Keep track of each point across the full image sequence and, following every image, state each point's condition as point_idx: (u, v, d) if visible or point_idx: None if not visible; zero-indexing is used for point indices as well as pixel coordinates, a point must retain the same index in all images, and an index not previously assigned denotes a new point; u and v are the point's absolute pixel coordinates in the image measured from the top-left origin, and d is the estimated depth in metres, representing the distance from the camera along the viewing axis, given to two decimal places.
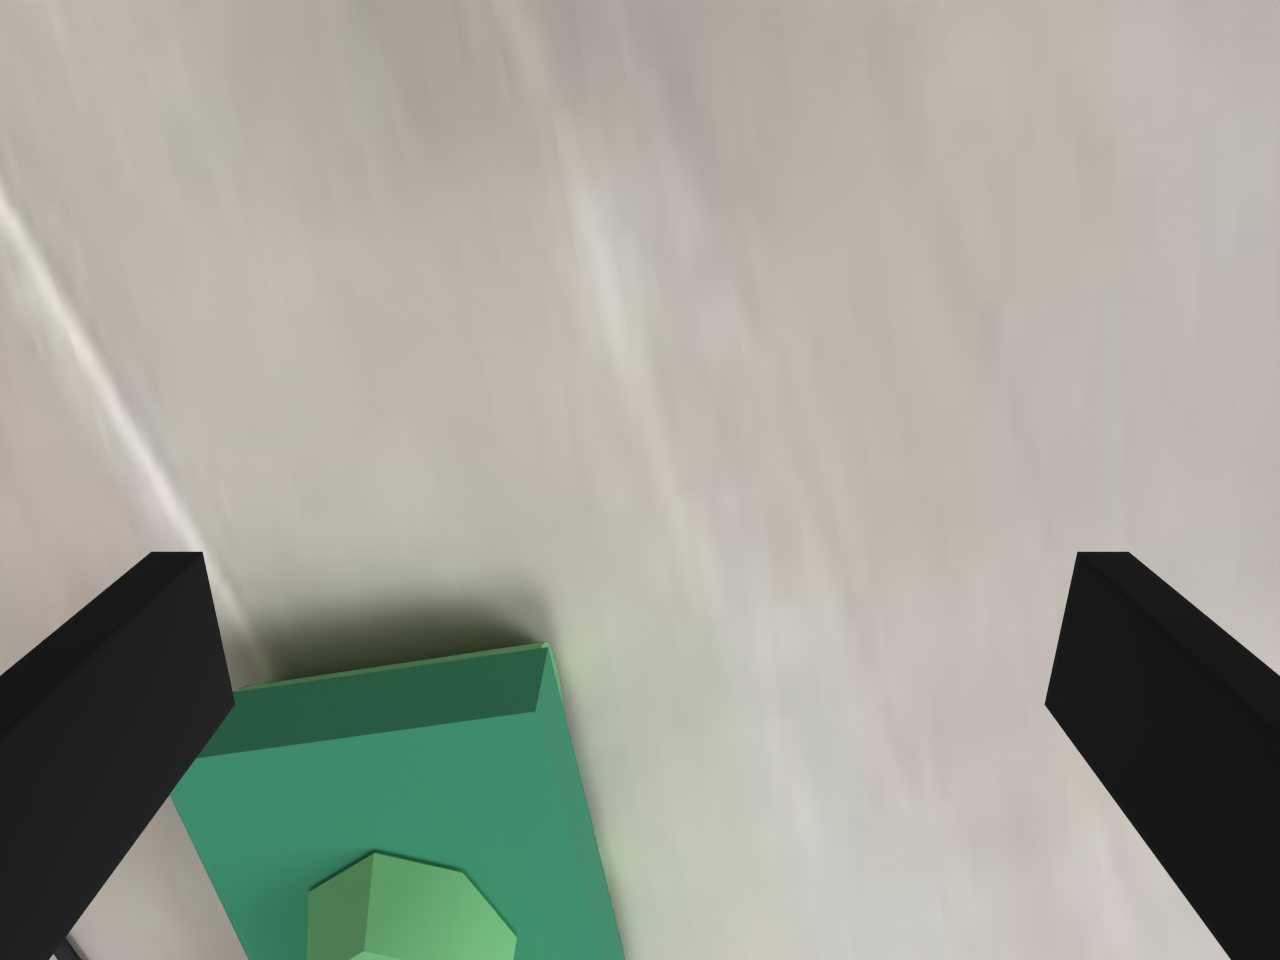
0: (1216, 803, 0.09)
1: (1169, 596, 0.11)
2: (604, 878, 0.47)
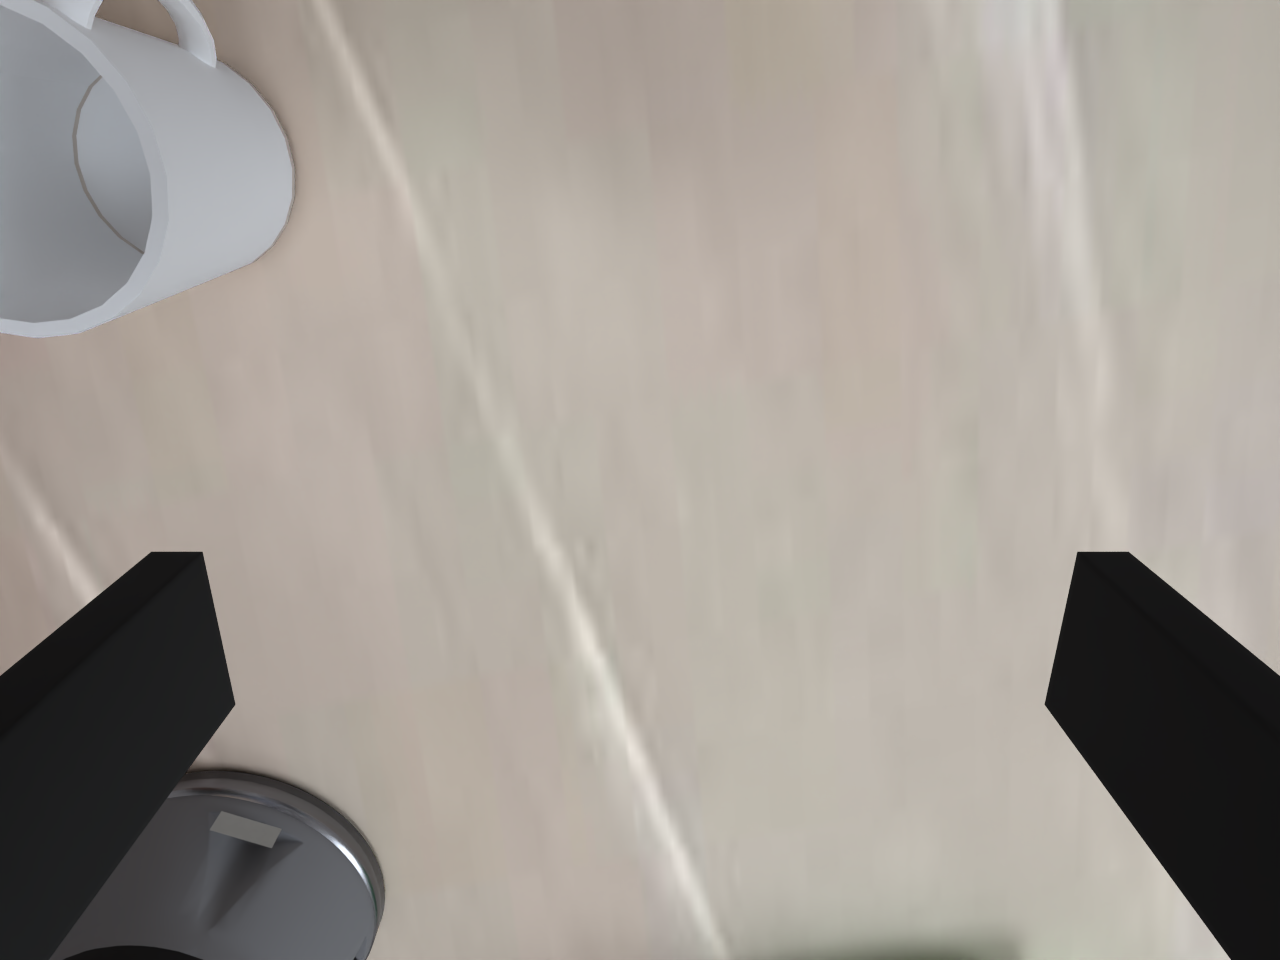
0: (1216, 803, 0.09)
1: (1169, 596, 0.11)
2: None
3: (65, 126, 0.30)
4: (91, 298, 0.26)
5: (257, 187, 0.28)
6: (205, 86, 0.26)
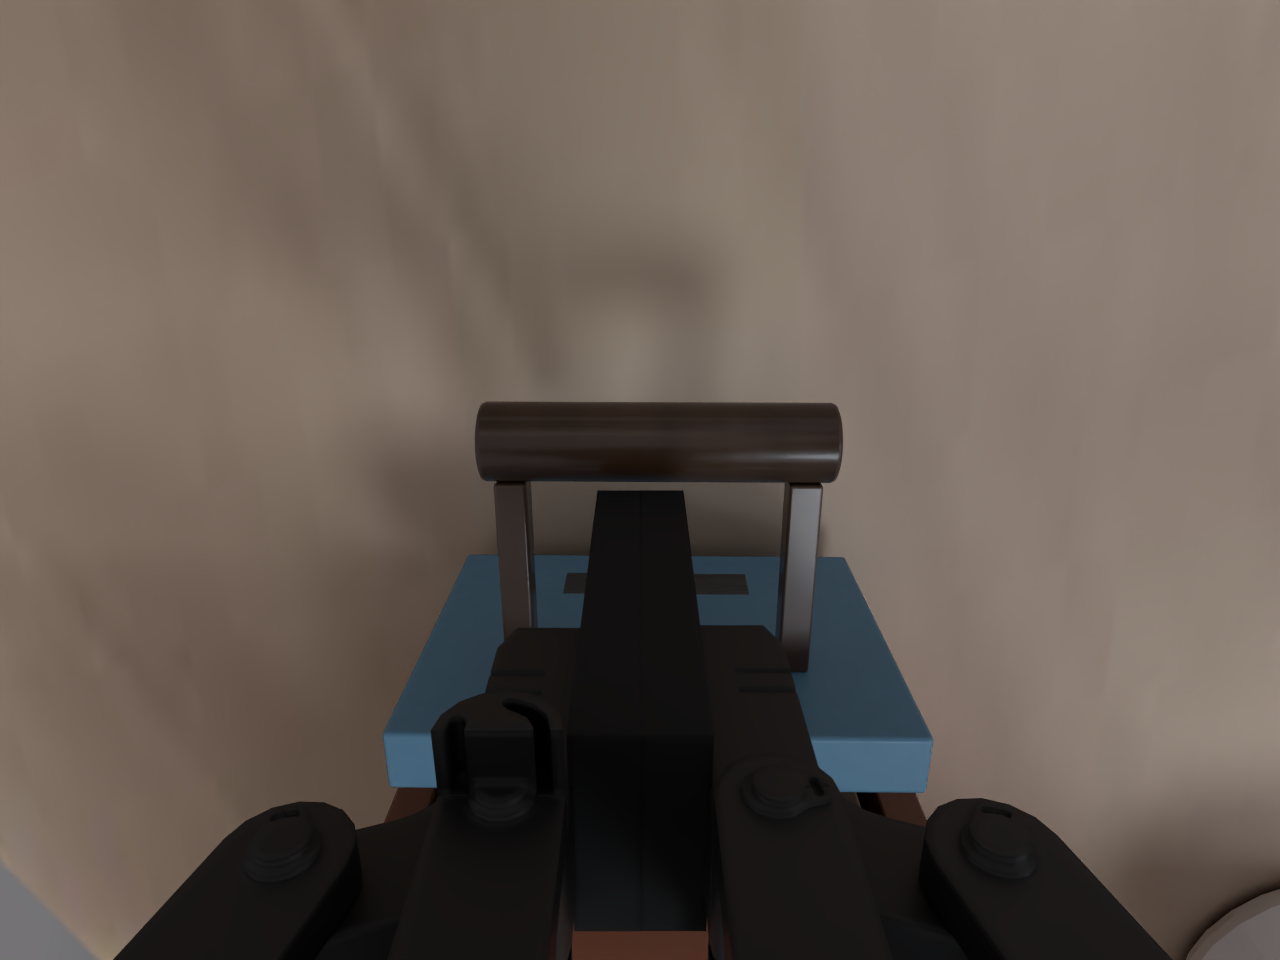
0: None
1: (675, 522, 0.13)
2: None
3: None
4: None
5: None
6: None
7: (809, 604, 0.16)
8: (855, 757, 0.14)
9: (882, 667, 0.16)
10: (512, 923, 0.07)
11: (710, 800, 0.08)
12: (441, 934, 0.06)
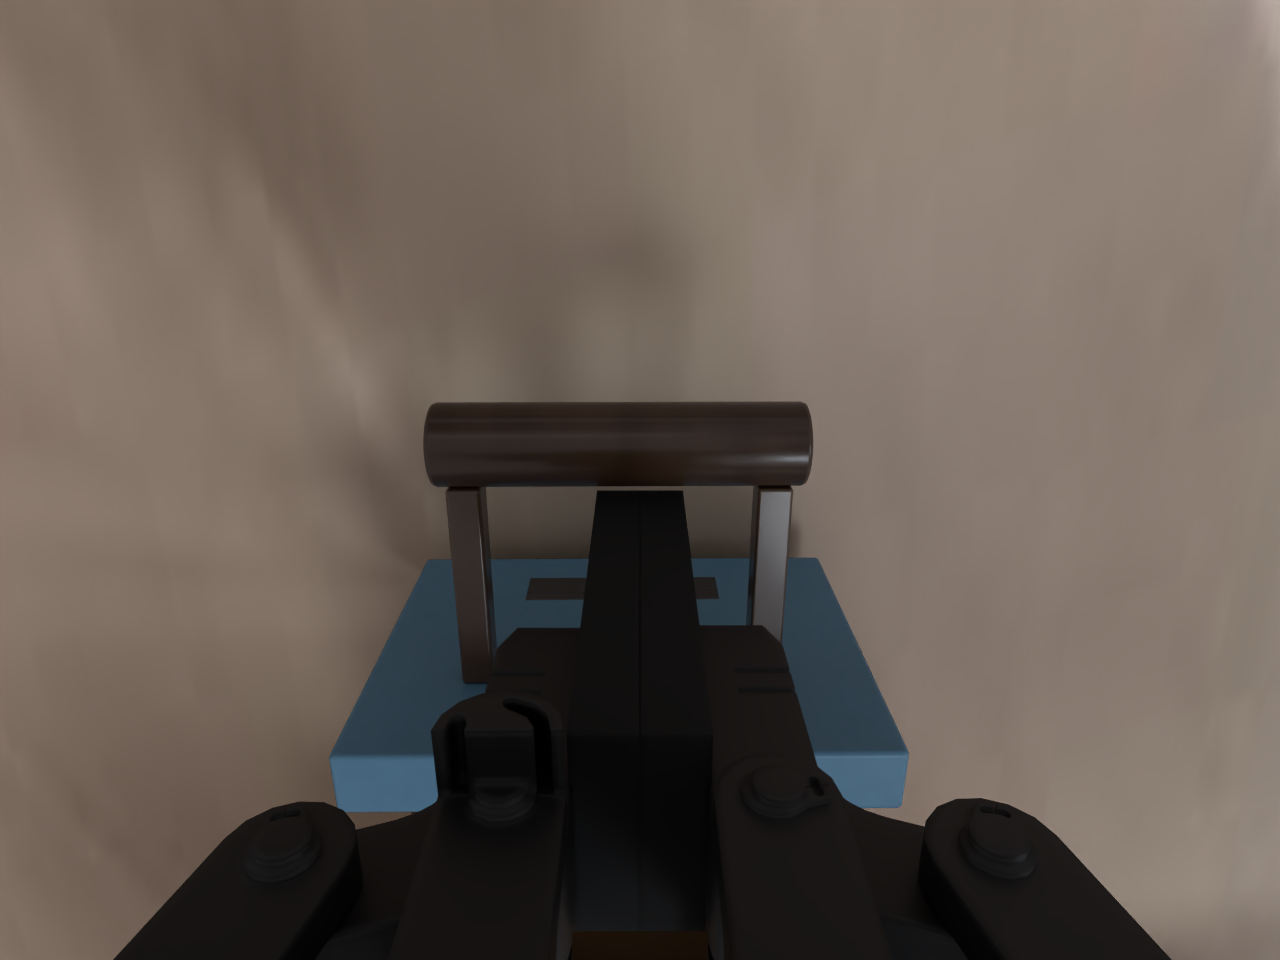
0: None
1: (675, 522, 0.13)
2: None
3: None
4: None
5: None
6: None
7: (780, 612, 0.15)
8: (828, 772, 0.14)
9: (856, 675, 0.16)
10: (512, 923, 0.07)
11: (709, 800, 0.08)
12: (443, 934, 0.06)
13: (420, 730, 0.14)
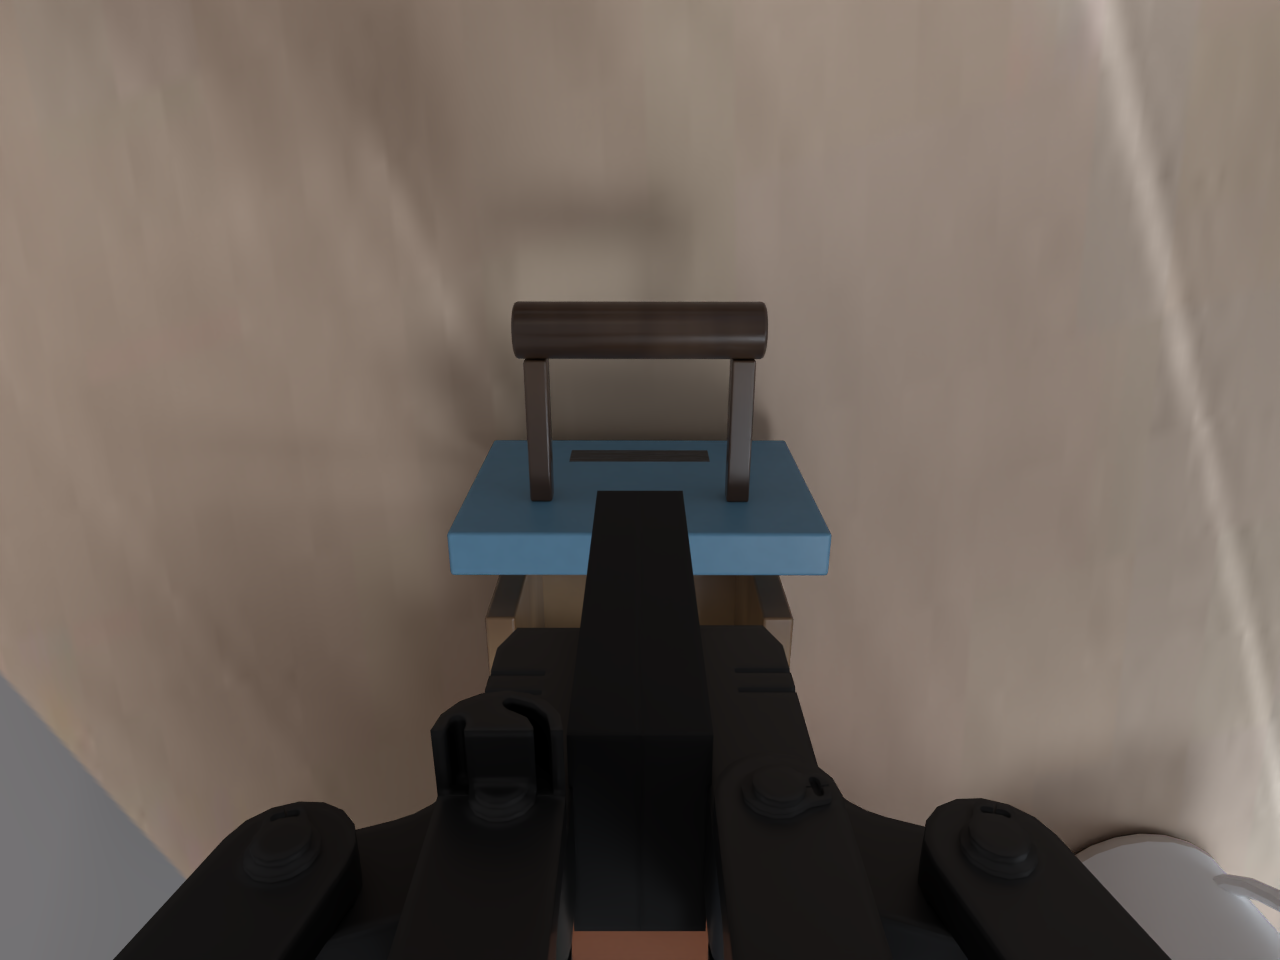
0: None
1: (675, 522, 0.13)
2: None
3: None
4: None
5: None
6: None
7: (748, 449, 0.22)
8: (777, 548, 0.21)
9: (802, 499, 0.23)
10: (512, 923, 0.07)
11: (709, 800, 0.08)
12: (443, 935, 0.06)
13: (506, 522, 0.21)
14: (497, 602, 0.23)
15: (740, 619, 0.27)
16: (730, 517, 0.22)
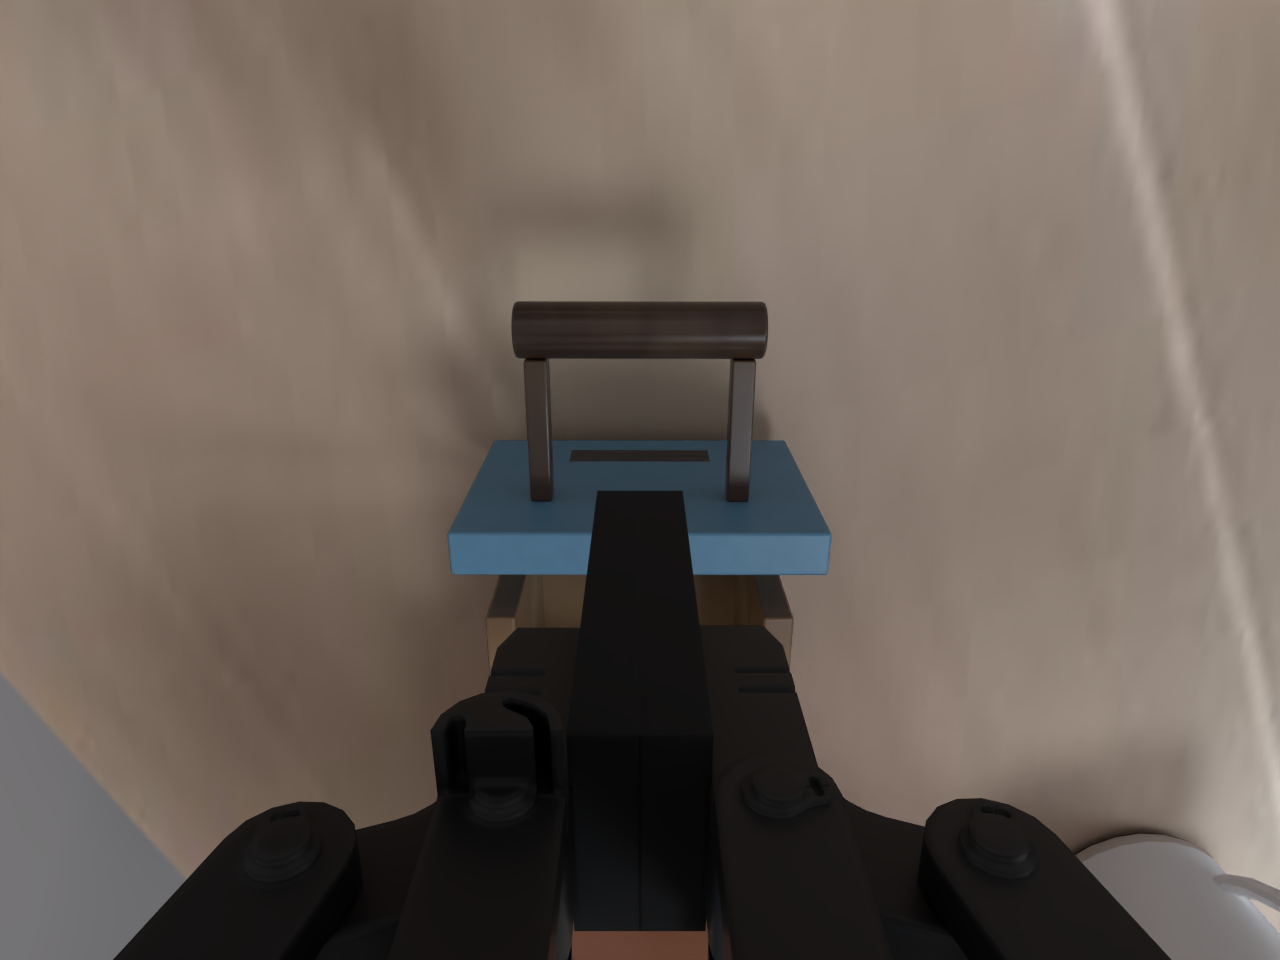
0: None
1: (675, 522, 0.13)
2: None
3: None
4: None
5: None
6: None
7: (748, 449, 0.22)
8: (777, 548, 0.21)
9: (802, 499, 0.23)
10: (512, 923, 0.07)
11: (709, 800, 0.08)
12: (443, 935, 0.06)
13: (506, 521, 0.21)
14: (497, 602, 0.23)
15: (740, 619, 0.27)
16: (730, 517, 0.22)
